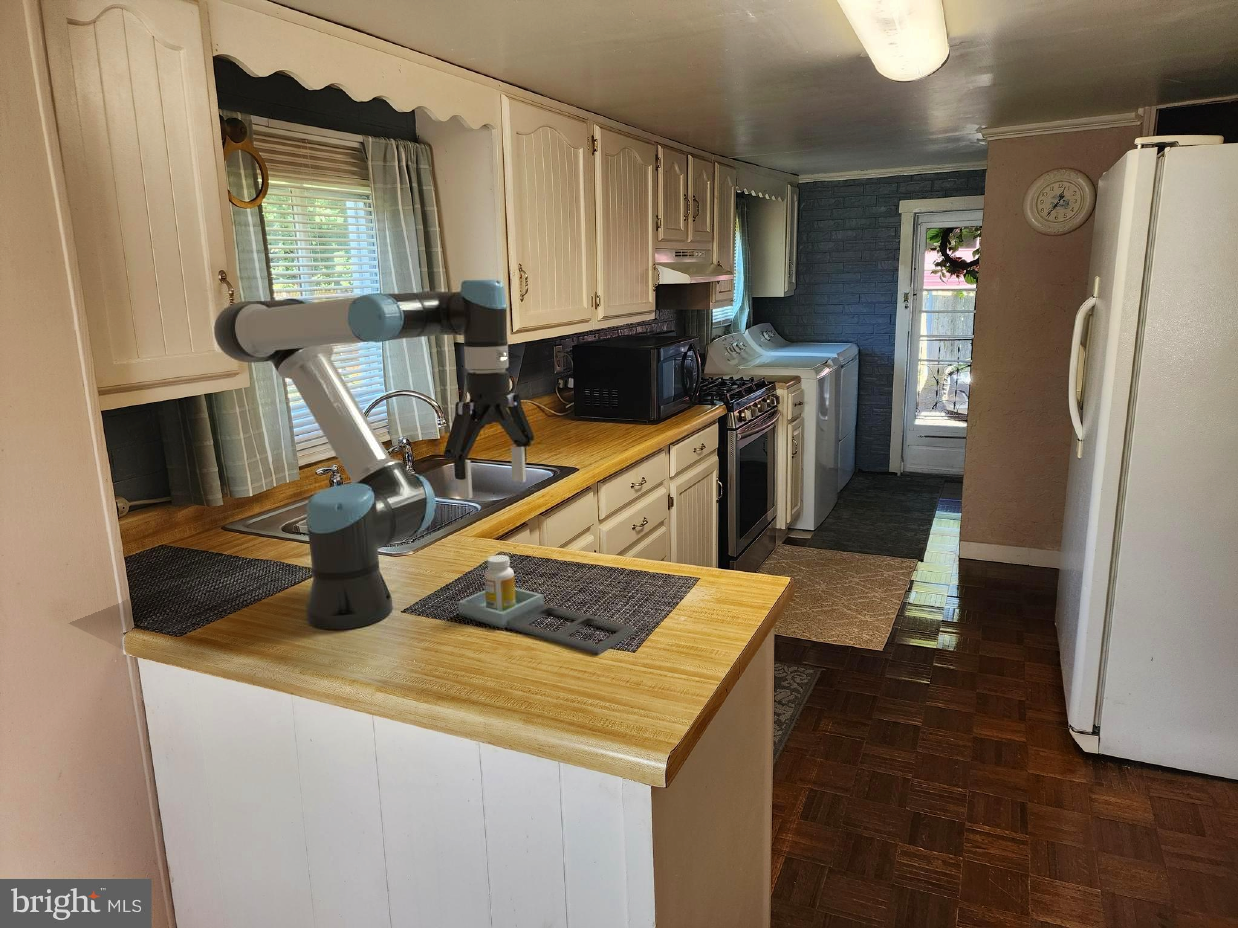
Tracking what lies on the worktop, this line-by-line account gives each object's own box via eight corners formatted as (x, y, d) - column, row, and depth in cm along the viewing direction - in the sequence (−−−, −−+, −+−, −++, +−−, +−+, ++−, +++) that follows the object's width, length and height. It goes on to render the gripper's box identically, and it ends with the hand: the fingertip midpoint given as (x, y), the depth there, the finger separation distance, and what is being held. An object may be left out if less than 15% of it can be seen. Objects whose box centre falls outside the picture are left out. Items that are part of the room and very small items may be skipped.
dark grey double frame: (598, 654, 137) (598, 647, 137) (507, 627, 148) (506, 621, 148) (633, 633, 145) (633, 626, 145) (544, 609, 156) (544, 603, 156)
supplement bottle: (517, 602, 158) (514, 553, 156) (514, 613, 153) (511, 562, 151) (488, 603, 158) (485, 554, 156) (484, 614, 153) (481, 563, 151)
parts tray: (503, 628, 148) (502, 614, 148) (458, 615, 155) (458, 601, 154) (543, 607, 157) (543, 594, 156) (500, 596, 163) (499, 583, 163)
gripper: (448, 379, 135) (456, 507, 140) (550, 364, 155) (554, 477, 159) (417, 376, 139) (425, 500, 144) (520, 362, 159) (524, 472, 164)
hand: (493, 488), depth 152 cm, fingers open, 13 cm apart
